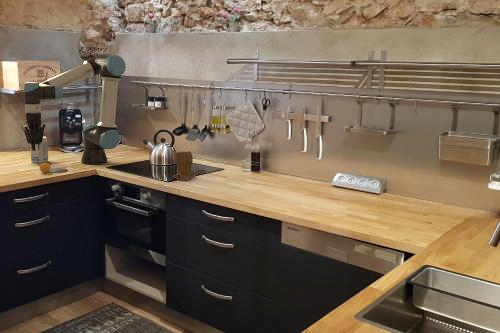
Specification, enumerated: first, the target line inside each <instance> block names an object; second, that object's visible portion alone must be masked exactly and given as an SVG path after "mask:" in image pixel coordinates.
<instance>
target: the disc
mask: <svg viewBox="0 0 500 333" xmlns="http://www.w3.org/2000/svg"><path fill="white" fill-rule="evenodd" d="M68 171H69V169H67V168H64V167H54V168H53V167H52V168H51V167H50V171H49V172H48V174H49V173H50V174H58V173H59V174H61V173H65V172H68Z"/></svg>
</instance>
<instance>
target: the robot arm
mask: <svg viewBox="0 0 500 333" xmlns="http://www.w3.org/2000/svg"><path fill="white" fill-rule="evenodd" d="M126 69H127V66H126V62H125V60H124V58H123V57H121V56H120V55H119V54H113V53H112V54H110V53H106V54H105V53H102V54H98V55H96V56H93V57H91V58H89V59H87V60H85V61H84V62H83V63H82V64H80V65H78V66H75V67H73V68H72V69H71V68H70V69H69V70H67V71H65V72H62V73H60V74H58V75H56V76H54V77H51V78H49V79H47V80H45V81H43V82H39V81H25V82H24V83H23V95H24V96H23V97H24V112H25V120H26V122H25V125H23V126H22V127H21V128H22V130H23V131H24V136H25V139H26V142H27V144H29V145H30V144H31V148H32V151H33V156H34V157H39V144H41V142H42V141H43V136H44V133H45V129H46V126H47V125H46V124H44V123H42V109H41V108H42V107H41V101H54V100H55V101H56V100H61V99H62V98H63V97H64V89H65V88H67V87H69V86H71V85H73V84H76V83H78V82H80V81H83V80H84V79H87V78H89V77H91V78H93V77H95V76H99V75H100V79H101V80H102V84H101V85H102V87H101V100H100V110H99V122H98V123H97V124H85V125H84V126H83V153H82V156H81V159H80V162H81V163H82V164H83V165H104V164H107V163H108V157H107V154H106V151H105V150H112V149H115V148H117V146H118V145H119V143H120V141H121V137H120V136H121V135H120V134H119V132H118V125H117V124H116V112H117V100H118V90H119V89H118V87H119V82H120V81H121V80H122V75H124V73H125V72H126ZM31 148H30V149H31Z"/></svg>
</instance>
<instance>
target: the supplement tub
mask: <svg viewBox="0 0 500 333" xmlns="http://www.w3.org/2000/svg"><path fill="white" fill-rule="evenodd" d="M48 144H49V143H48V137H47V136H44V135H43V141H42V142H41V144H39V157H34V156H33V151H32V148H31V144H29V146H30V159H31V161H30V162H32V163H35V164H42V163H48V161H49V146H48Z"/></svg>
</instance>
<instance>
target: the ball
mask: <svg viewBox="0 0 500 333" xmlns="http://www.w3.org/2000/svg"><path fill="white" fill-rule="evenodd" d="M50 169H51V165H50V163H48V162H44V163H40V166H39V171H40V172H41V173H42V174H43V173H44V174H47V173H49V171H50Z"/></svg>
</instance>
